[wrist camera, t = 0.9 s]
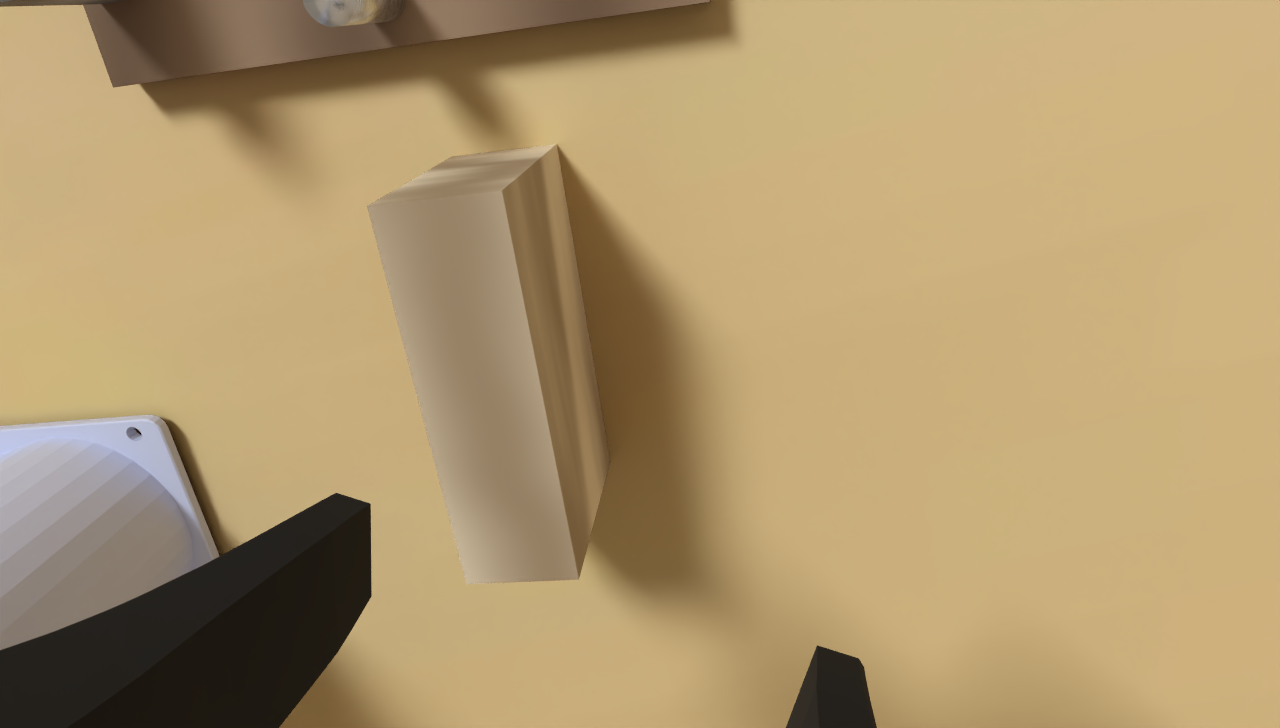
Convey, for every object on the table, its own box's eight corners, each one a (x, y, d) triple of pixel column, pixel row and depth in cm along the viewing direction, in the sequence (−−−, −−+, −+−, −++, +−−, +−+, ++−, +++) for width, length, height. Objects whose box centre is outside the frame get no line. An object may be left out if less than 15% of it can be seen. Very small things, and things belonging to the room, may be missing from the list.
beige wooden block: (520, 465, 27) (466, 584, 22) (453, 156, 23) (366, 206, 18) (610, 460, 27) (578, 579, 21) (557, 143, 23) (501, 190, 17)
